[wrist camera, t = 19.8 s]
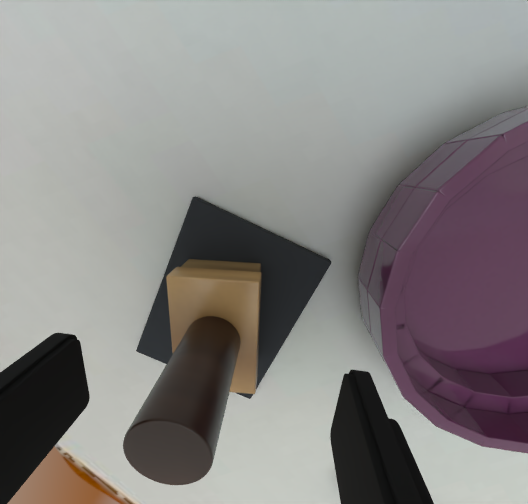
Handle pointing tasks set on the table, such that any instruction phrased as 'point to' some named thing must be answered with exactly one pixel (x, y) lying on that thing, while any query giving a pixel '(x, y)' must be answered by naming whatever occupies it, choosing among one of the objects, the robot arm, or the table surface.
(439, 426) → the bowl
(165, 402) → the wooden stamp
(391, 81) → the table surface
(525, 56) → the table surface
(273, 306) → the mat
